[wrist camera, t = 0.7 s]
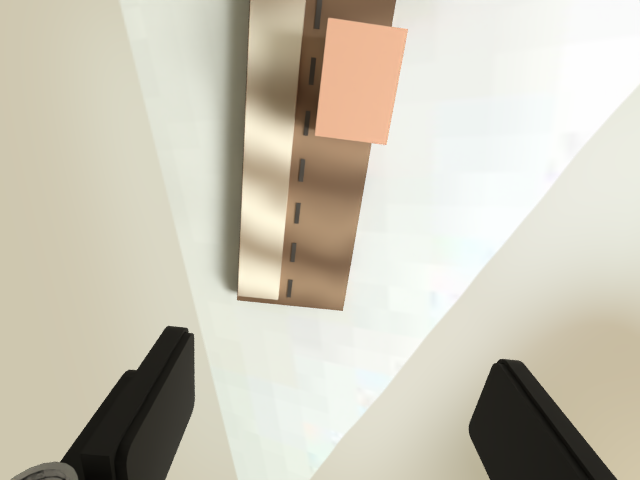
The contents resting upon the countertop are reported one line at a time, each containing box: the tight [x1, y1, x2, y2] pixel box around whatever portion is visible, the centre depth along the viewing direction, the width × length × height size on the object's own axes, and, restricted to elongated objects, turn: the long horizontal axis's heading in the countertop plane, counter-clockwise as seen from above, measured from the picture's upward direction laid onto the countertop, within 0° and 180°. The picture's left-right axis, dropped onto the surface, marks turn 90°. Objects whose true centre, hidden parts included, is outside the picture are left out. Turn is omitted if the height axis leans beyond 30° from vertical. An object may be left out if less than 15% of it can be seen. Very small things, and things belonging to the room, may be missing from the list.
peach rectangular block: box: [315, 18, 408, 145], centre depth 25 cm, size 7×5×6 cm
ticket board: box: [237, 0, 396, 311], centre depth 31 cm, size 28×11×2 cm, turn 173°
